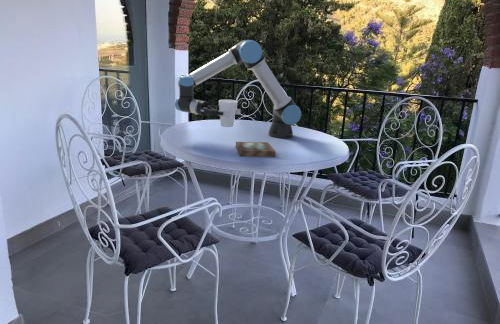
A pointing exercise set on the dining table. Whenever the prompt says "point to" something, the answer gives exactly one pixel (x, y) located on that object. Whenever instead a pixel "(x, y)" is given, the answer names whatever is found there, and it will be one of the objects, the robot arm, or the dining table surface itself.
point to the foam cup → (230, 107)
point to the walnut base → (255, 149)
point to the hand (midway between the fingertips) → (234, 113)
